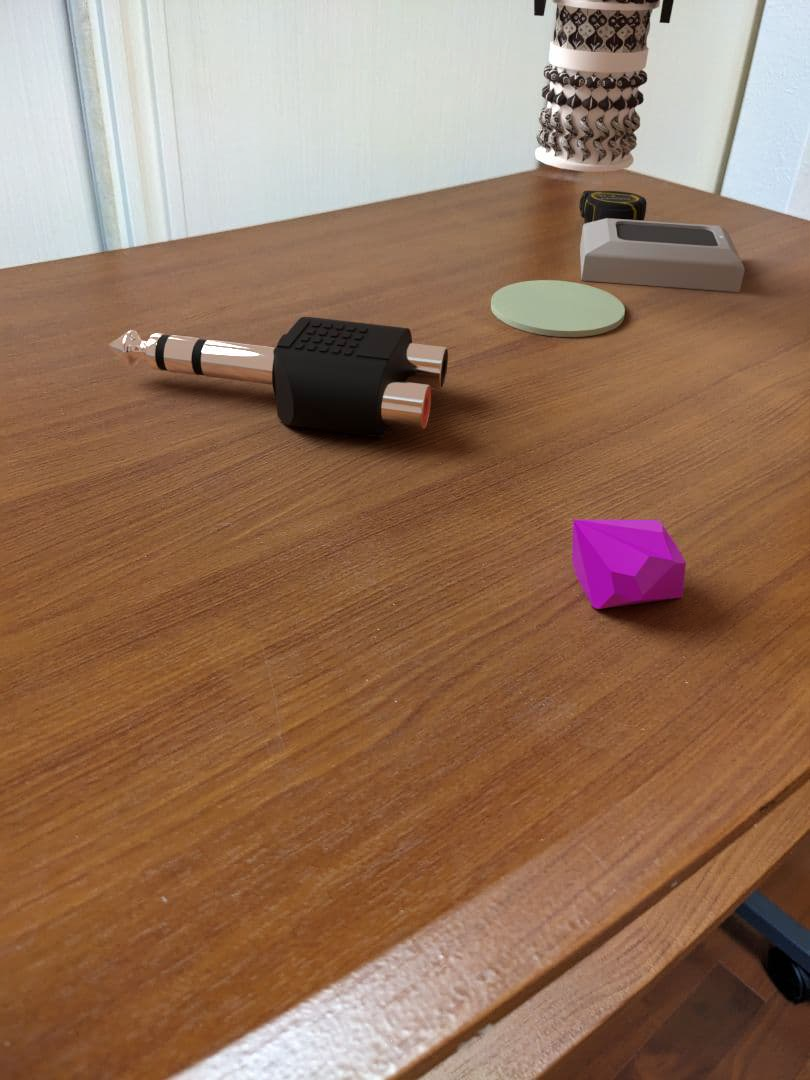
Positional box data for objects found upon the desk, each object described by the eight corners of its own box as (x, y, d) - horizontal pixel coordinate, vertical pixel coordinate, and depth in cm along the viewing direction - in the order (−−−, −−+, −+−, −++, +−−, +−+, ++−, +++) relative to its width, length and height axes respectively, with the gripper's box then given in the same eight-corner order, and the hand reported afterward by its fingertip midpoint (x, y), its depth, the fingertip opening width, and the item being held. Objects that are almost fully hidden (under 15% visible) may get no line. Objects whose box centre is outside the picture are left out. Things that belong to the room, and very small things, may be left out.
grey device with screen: (584, 213, 95) (733, 222, 94) (579, 248, 97) (725, 258, 96) (586, 242, 87) (748, 254, 86) (581, 280, 90) (739, 292, 88)
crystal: (621, 636, 48) (636, 566, 45) (551, 581, 51) (562, 513, 49) (689, 602, 50) (707, 533, 48) (618, 552, 54) (631, 485, 51)
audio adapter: (421, 385, 59) (64, 340, 63) (418, 457, 62) (78, 410, 66) (452, 320, 67) (136, 284, 72) (448, 386, 71) (146, 348, 75)
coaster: (652, 317, 83) (653, 310, 82) (557, 349, 77) (557, 342, 76) (556, 277, 90) (557, 271, 90) (463, 303, 84) (464, 297, 84)
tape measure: (637, 221, 105) (642, 188, 103) (646, 240, 100) (652, 205, 98) (577, 219, 106) (581, 185, 103) (583, 238, 100) (588, 202, 98)
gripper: (773, -198, 75) (738, 49, 72) (510, -203, 79) (466, 32, 76) (798, -295, 68) (761, -24, 65) (507, -295, 72) (458, -39, 68)
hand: (602, 6), depth 70 cm, fingers closed on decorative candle, 9 cm apart
